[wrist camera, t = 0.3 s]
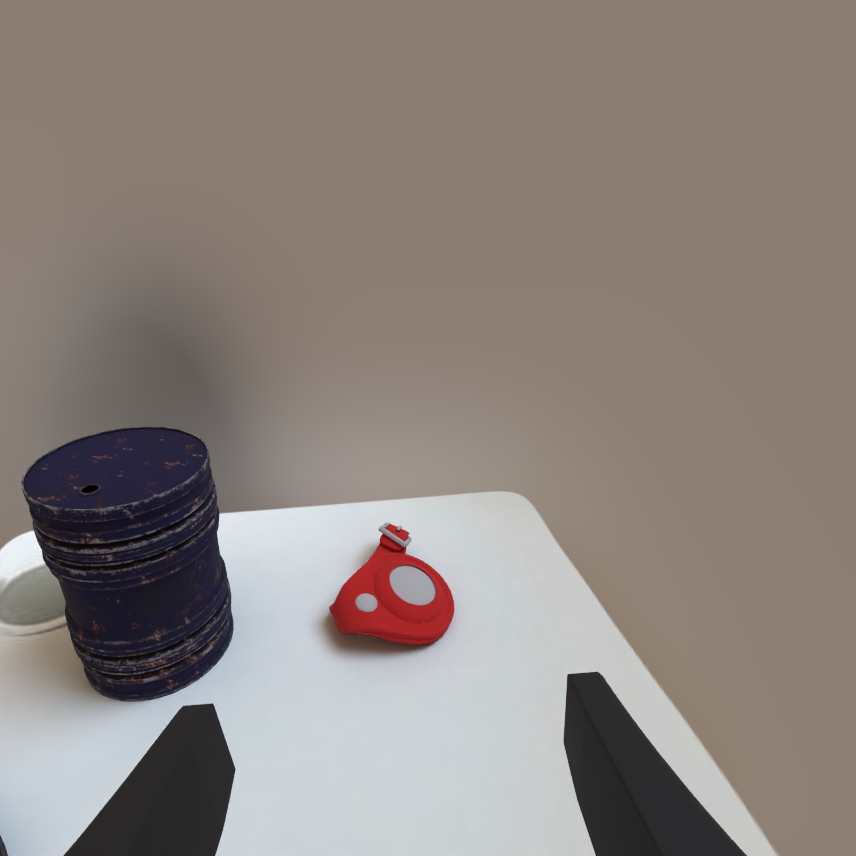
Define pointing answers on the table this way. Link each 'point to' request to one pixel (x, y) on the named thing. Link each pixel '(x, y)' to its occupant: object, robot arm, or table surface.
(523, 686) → the table surface
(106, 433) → the dark blue barrel
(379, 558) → the tracker holder
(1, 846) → the dark sector wedge
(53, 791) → the table surface
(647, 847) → the robot arm
